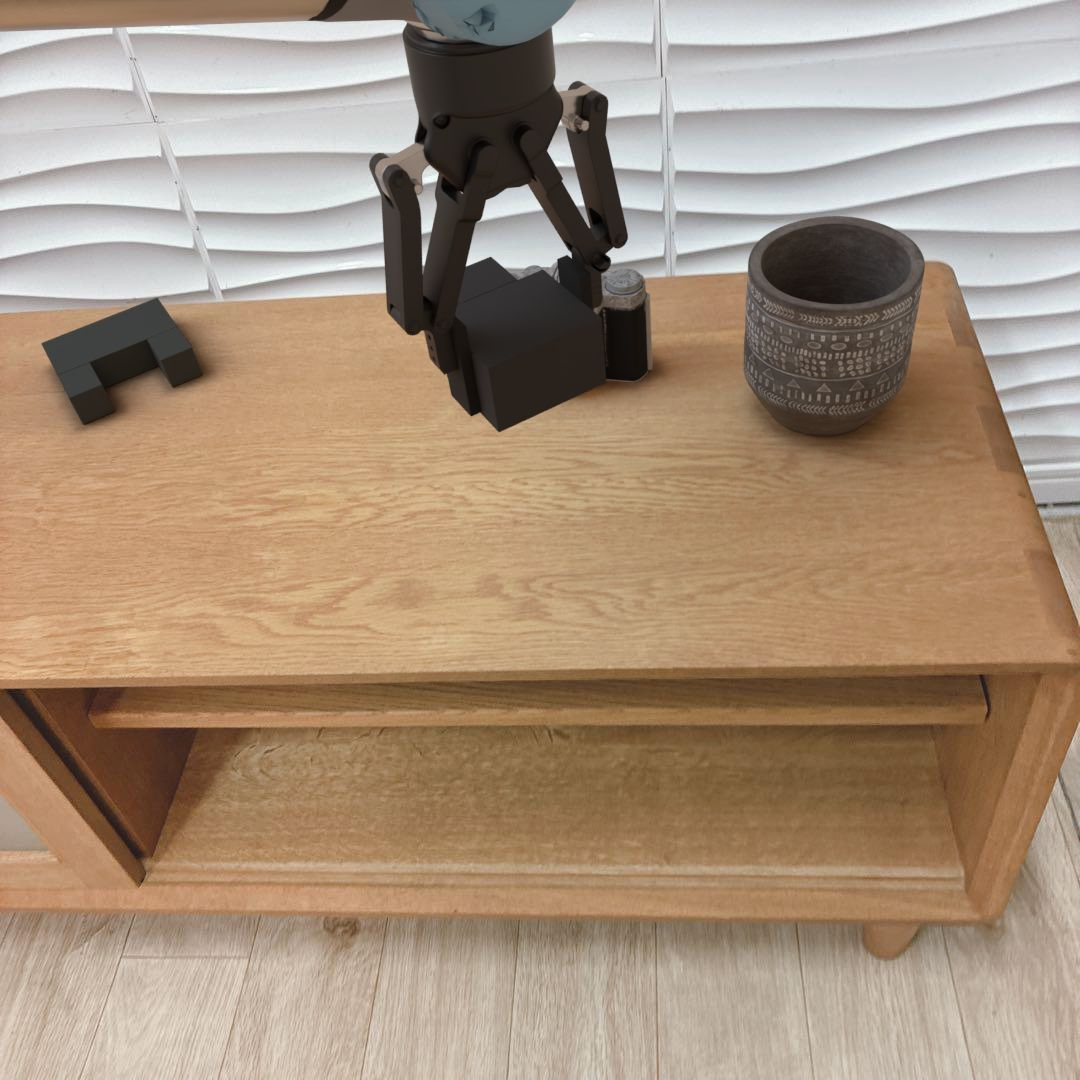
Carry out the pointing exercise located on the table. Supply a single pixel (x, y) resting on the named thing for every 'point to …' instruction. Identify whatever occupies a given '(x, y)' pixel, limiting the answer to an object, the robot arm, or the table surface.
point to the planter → (830, 321)
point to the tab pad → (527, 342)
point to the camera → (620, 322)
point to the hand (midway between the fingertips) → (524, 376)
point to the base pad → (119, 355)
